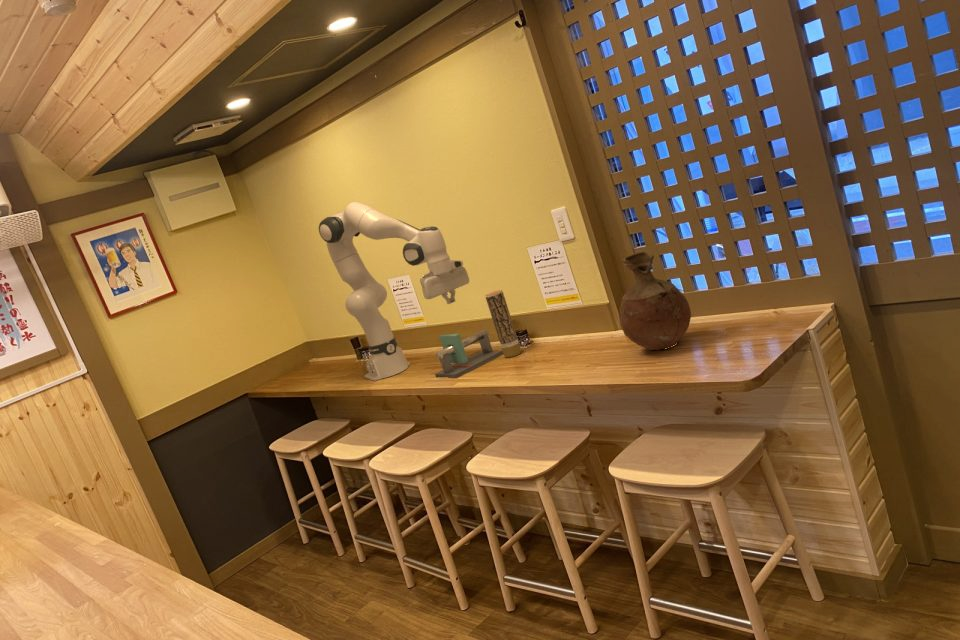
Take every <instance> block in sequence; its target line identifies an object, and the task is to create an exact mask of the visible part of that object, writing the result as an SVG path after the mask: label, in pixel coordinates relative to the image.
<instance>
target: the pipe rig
mask: <svg viewBox="0 0 960 640" xmlns="http://www.w3.org/2000/svg"><path fill="white" fill-rule="evenodd" d="M461 341H462V344H463V347H464V349H465V348H467V347H469V346H471V345H472V344H475V343H476V342H479V344H480V349H481V351H483V353H491V352H493V351H494V350H493V348H492V347H493V346H492V343H491V341H490V337H489V331H488V330H487V329H486V328H485V329H483V330H480V331H478V332H476V333H474V334H472V335H470V336H467V337H466V338H463V339H461ZM452 353H455V350H454V347H453V345H451V346H449V347H447V348H445V349H443V348H442V349H441V350H439V351H436V357H437V359H438V360H439V362H440V365H441V368H442V370H443V371H444V373H451V372H453V371H454V370H453V367H452V365H453V363H451V361H450V358H449V355H450V354H452Z"/></svg>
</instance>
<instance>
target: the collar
mask: <svg viewBox="0 0 960 640" xmlns="http://www.w3.org/2000/svg"><path fill="white" fill-rule="evenodd" d="M438 338H439V341H440V343H441V345H442V350H443V349H445V348H447V347H449V346H451V345H453V347H454V350H455V353H452V354H450V355H449V358H450V361H451V364H456V363H465V362H467V361H468V359H467V358H468V355H467V354H466V350H465V348H464V347H463V344H462V341H461V340H462V338H461V335H460V333H451V334H448V333H447V334H442V335H439V336H438Z"/></svg>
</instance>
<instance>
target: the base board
mask: <svg viewBox="0 0 960 640" xmlns="http://www.w3.org/2000/svg"><path fill="white" fill-rule="evenodd" d="M501 356H504V353H503V350H502V349H500V350H493V352H491V353H483V351H482V350H480V351H478V352H476V353H474V354H472V355H470V356H467V359H468V361H467V362H465V363H453V364H452V367H453V370H454V371H453V372H451V373H444V371H443V369H442V370H439V371H437V372H436V373H434V374H435V378H438V377H448V378H447V379H458V378H460V377H462V376H464V375H466V374H468V373H470V372H472V371H474V370H475V369H477V368H479V367H481V366H484V365H485V364H487V363H489V362H491V361H493V360H495V359H497V358H500V357H501Z"/></svg>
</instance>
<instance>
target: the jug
mask: <svg viewBox="0 0 960 640" xmlns="http://www.w3.org/2000/svg"><path fill="white" fill-rule="evenodd" d="M654 258H655V257H654V254H650V253H648V252H645V251H641V252H636V253H633V254H631V255H627V256H625V257H624V258H623V259H622V263H623V265H624V267H626V268H628V270H630V271H632V274H633V275H634V284H633V285H632V286H631V287H629V289H628V290H627V291H626V292H625V294H623V296H622V298H621V303H620V308H619V326H620V329H621V330H622V332H623V333H624V335H625V337H626V338H627V339H629V340H630V341H631V342H633V343H634V344H635V345H637V346H640V347H641V348H646V349H648V350H650V351H654V350H655V351H661V350H660V349H664V350H666V349H665V348H668V347H671V346H673V345H675V344H676V343H678V344H679V340H680V339H682V338H683V336H684V335H685V334H686V333H687V331H688V328H689V327H690V323H691V320H692V319H691V318H692V317H691V316H692V312H691V307H690V305H689V302H688V300H687V298H686V296H685V295H684V293H683V292H682V291H680V289H679V288H677V285H675V284H673V283H672V282H669V281H666V280H663V279H658V278H656V277H654V275H653V273H652V269H651V267H652V265H653V260H654Z"/></svg>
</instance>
